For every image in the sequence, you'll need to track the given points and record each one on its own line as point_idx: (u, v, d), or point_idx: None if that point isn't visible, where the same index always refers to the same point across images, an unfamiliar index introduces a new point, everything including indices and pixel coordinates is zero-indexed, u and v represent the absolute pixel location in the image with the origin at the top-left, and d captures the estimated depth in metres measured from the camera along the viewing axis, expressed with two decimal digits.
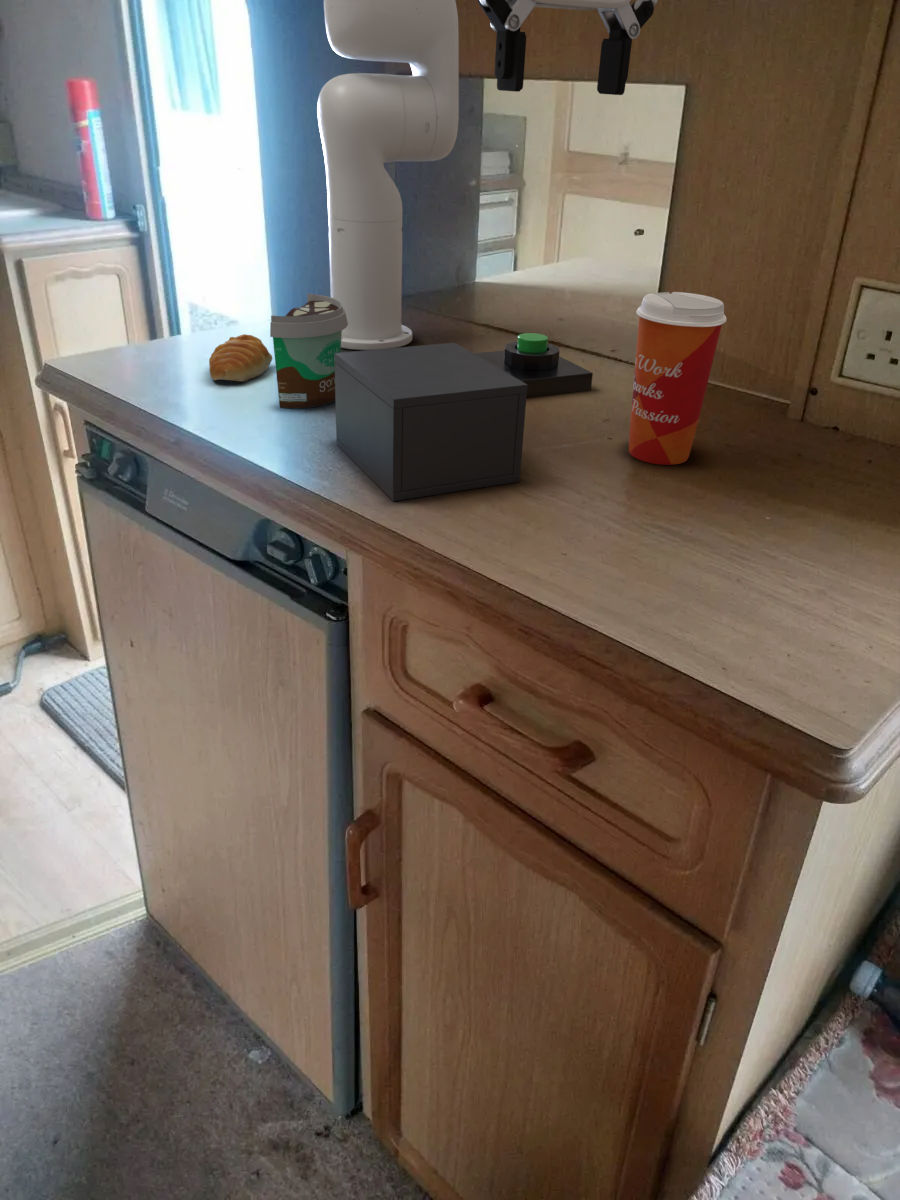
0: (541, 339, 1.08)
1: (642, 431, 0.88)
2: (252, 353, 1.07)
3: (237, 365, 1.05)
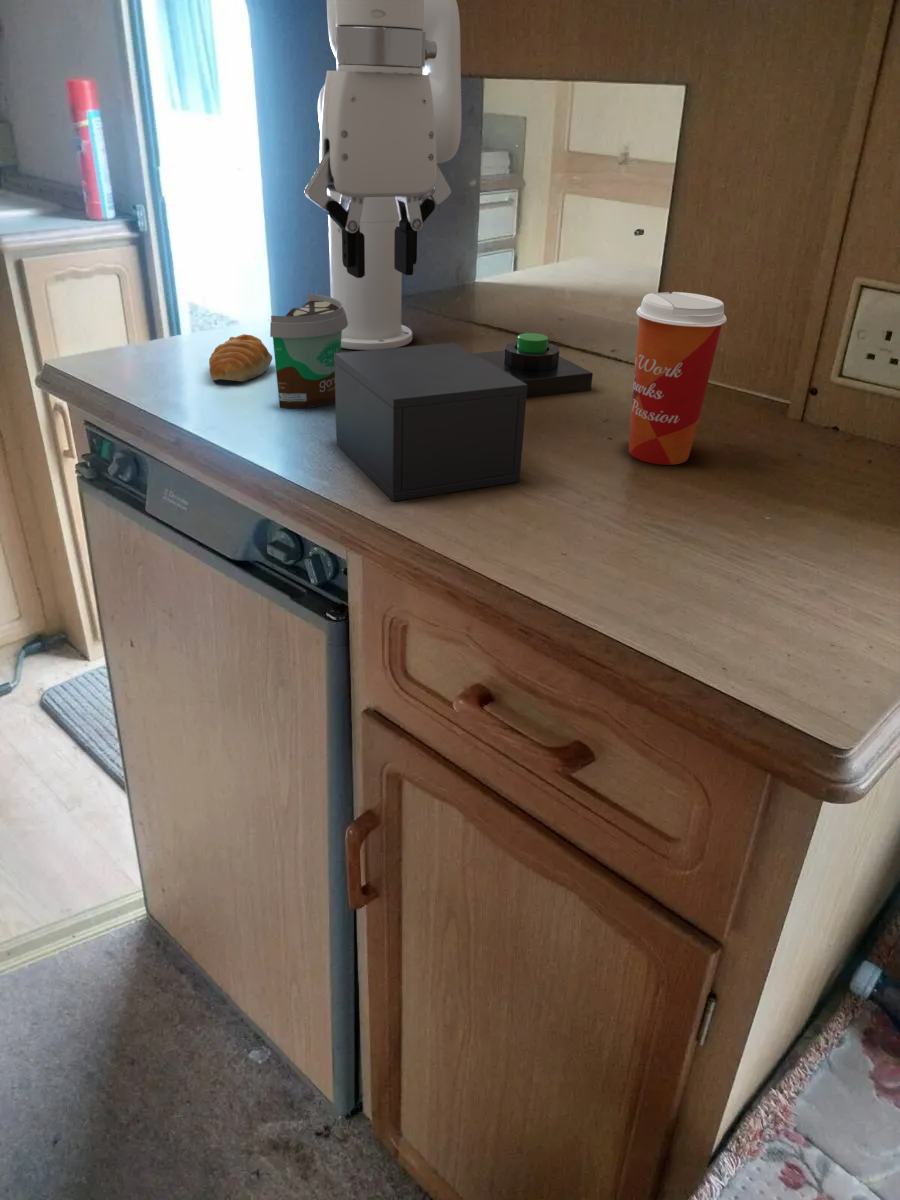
0: (541, 339, 1.08)
1: (642, 431, 0.88)
2: (252, 353, 1.07)
3: (237, 365, 1.05)
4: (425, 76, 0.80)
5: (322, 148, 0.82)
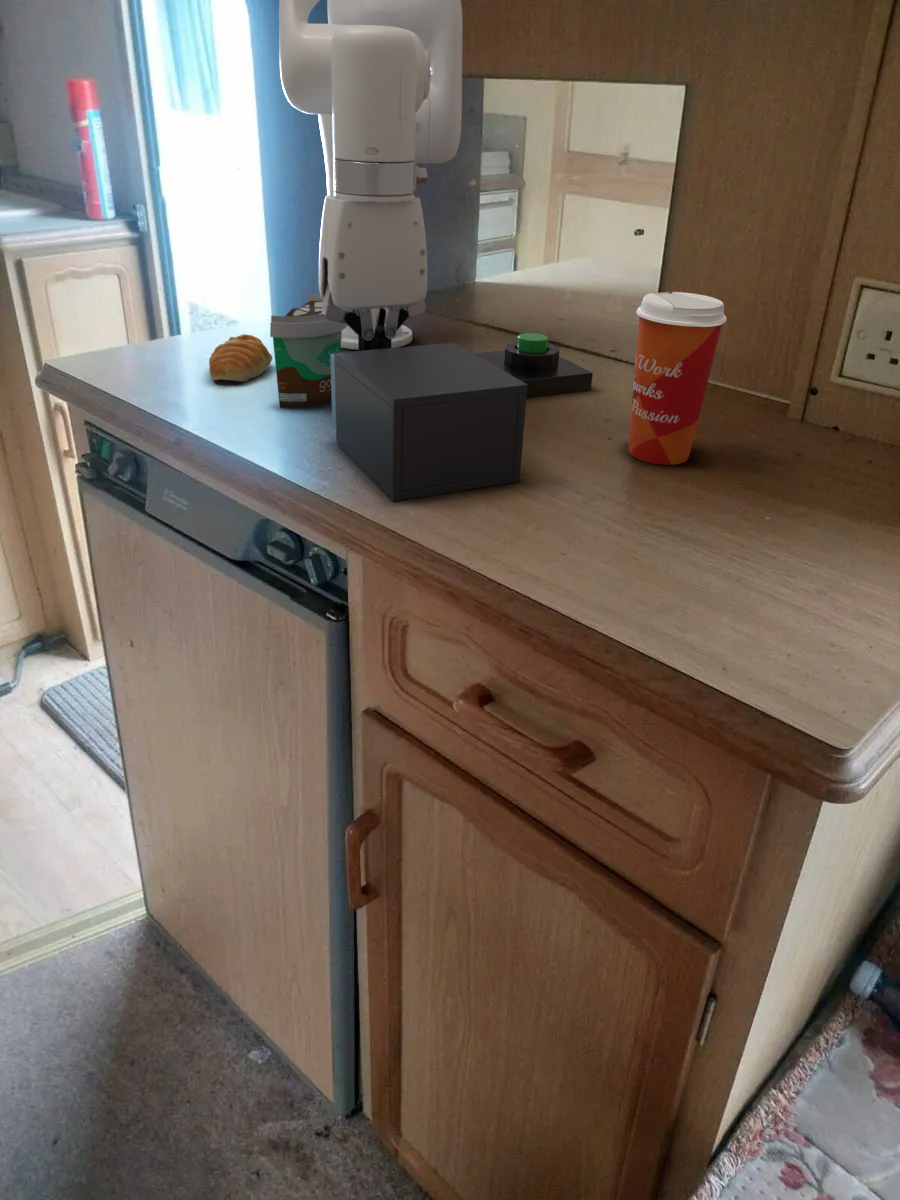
0: (541, 339, 1.08)
1: (642, 431, 0.88)
2: (252, 353, 1.07)
3: (237, 365, 1.05)
4: (416, 201, 0.86)
5: (321, 265, 0.88)
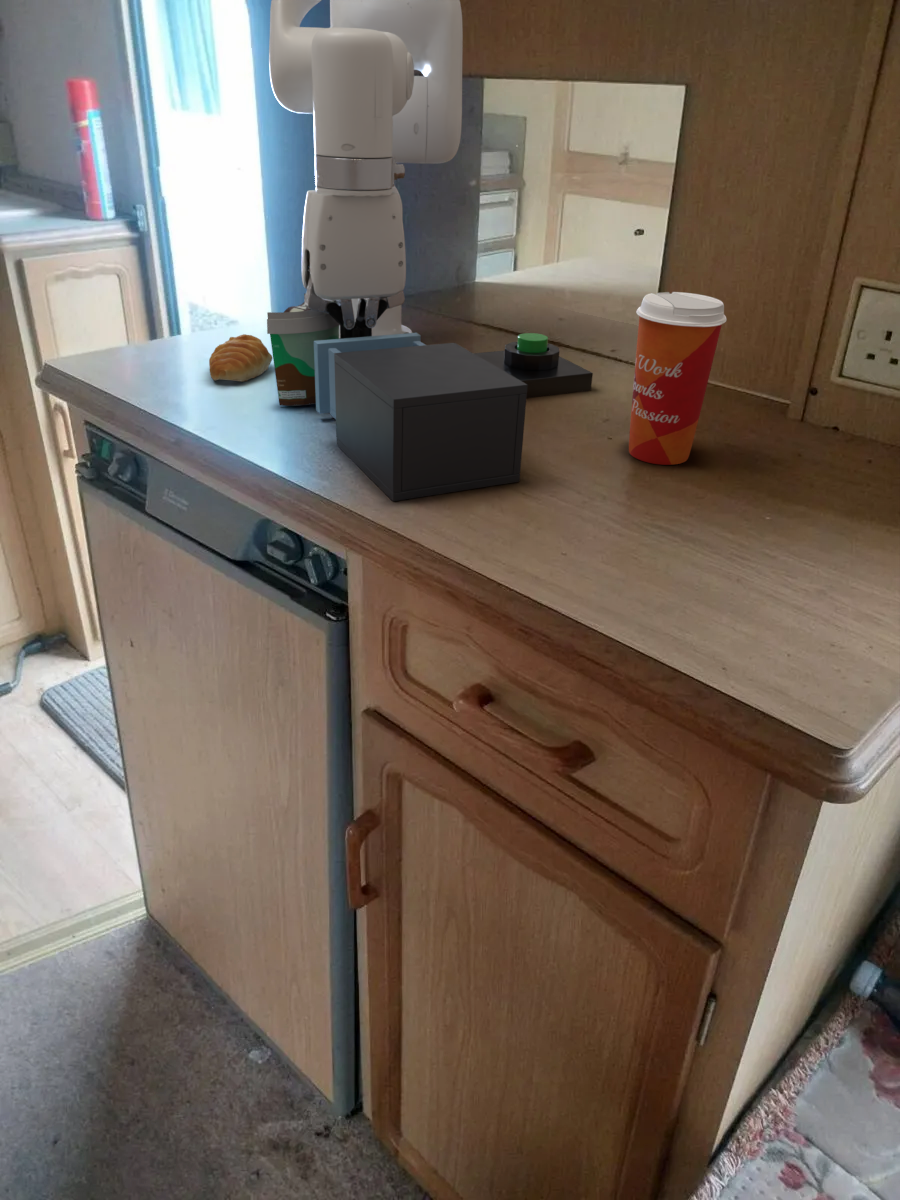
0: (541, 339, 1.08)
1: (642, 431, 0.88)
2: (252, 353, 1.07)
3: (237, 365, 1.05)
4: (394, 195, 0.90)
5: (303, 257, 0.92)
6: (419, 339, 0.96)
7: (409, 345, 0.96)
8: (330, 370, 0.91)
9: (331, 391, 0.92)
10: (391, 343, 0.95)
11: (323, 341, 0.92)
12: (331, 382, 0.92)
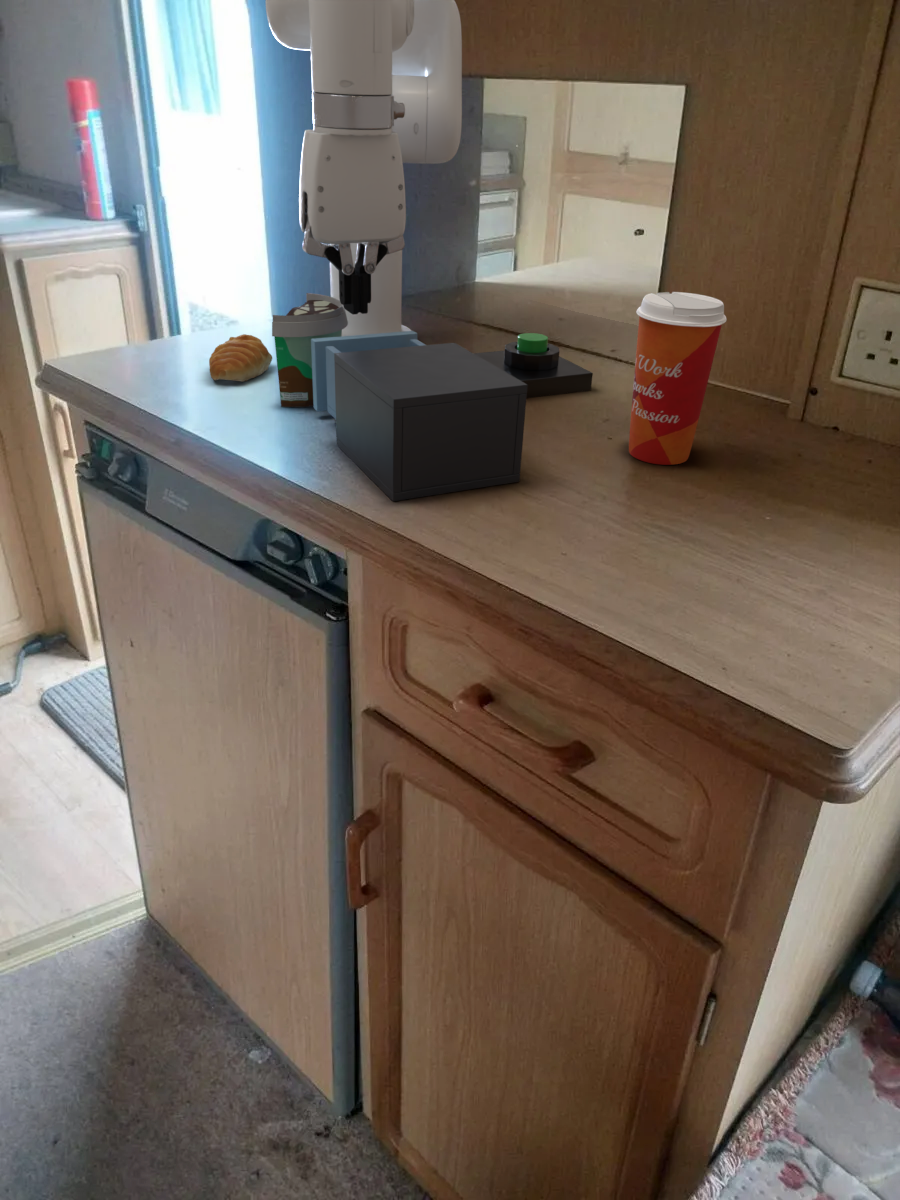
0: (541, 339, 1.08)
1: (642, 431, 0.88)
2: (252, 353, 1.07)
3: (237, 365, 1.05)
4: (394, 135, 0.88)
5: (301, 199, 0.90)
6: (416, 337, 0.97)
7: (406, 343, 0.97)
8: (328, 368, 0.92)
9: (328, 389, 0.93)
10: (388, 341, 0.96)
11: (320, 339, 0.93)
12: (329, 379, 0.92)
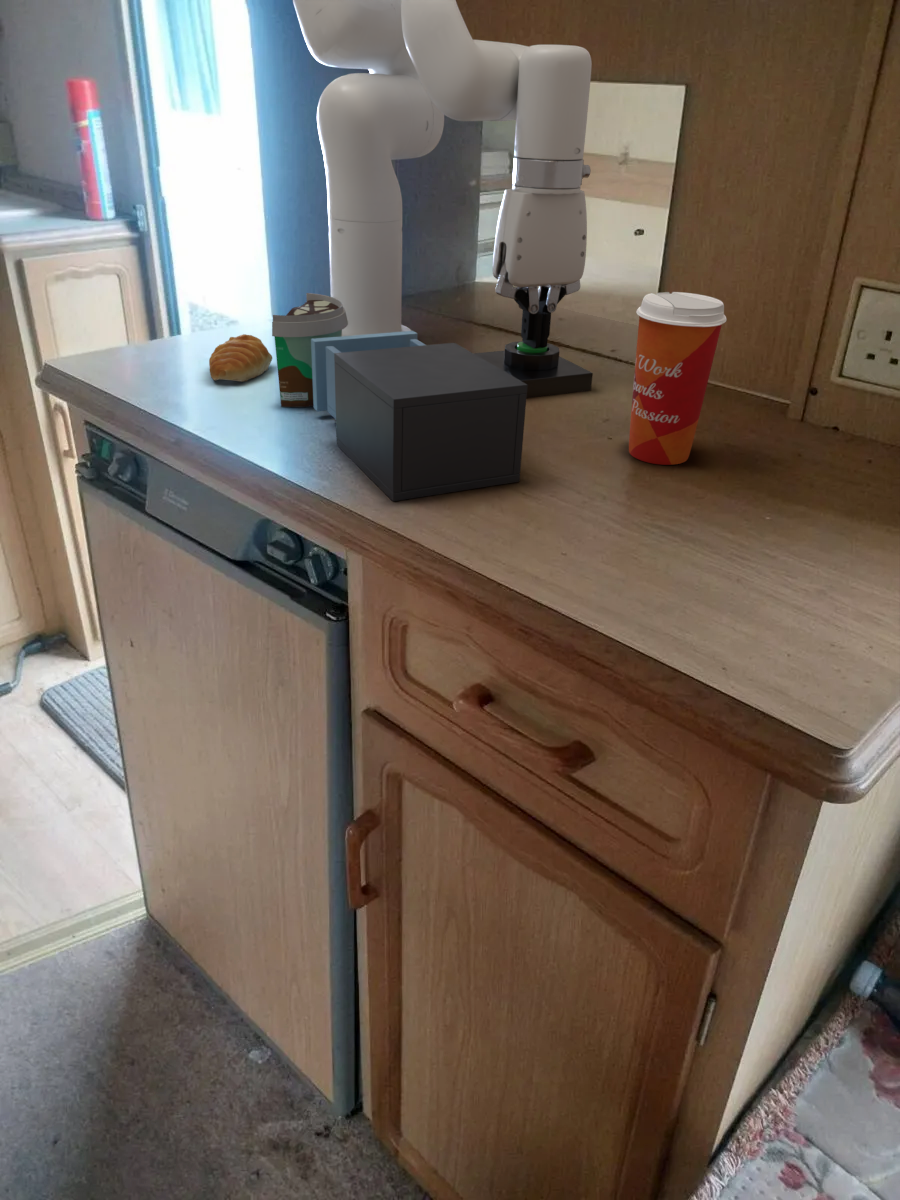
0: (540, 347, 1.08)
1: (642, 431, 0.88)
2: (252, 353, 1.07)
3: (237, 365, 1.05)
4: (582, 193, 1.00)
5: (497, 249, 1.02)
6: (416, 337, 0.97)
7: (406, 343, 0.97)
8: (328, 368, 0.92)
9: (328, 389, 0.93)
10: (388, 341, 0.96)
11: (320, 339, 0.93)
12: (329, 379, 0.92)
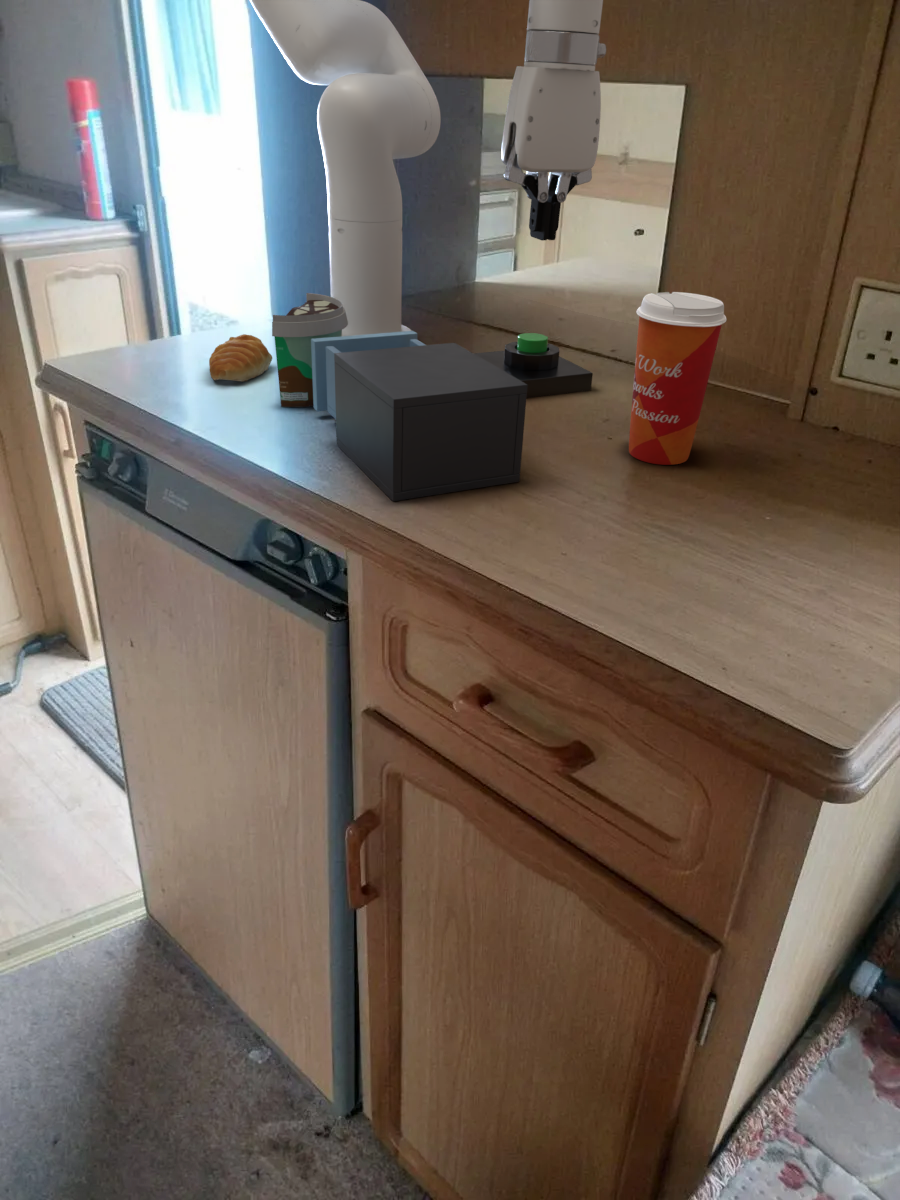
0: (541, 339, 1.08)
1: (642, 431, 0.88)
2: (252, 353, 1.07)
3: (237, 365, 1.05)
4: (597, 72, 0.96)
5: (507, 130, 0.99)
6: (416, 337, 0.97)
7: (406, 343, 0.97)
8: (328, 368, 0.92)
9: (328, 389, 0.93)
10: (388, 341, 0.96)
11: (320, 339, 0.93)
12: (329, 379, 0.92)
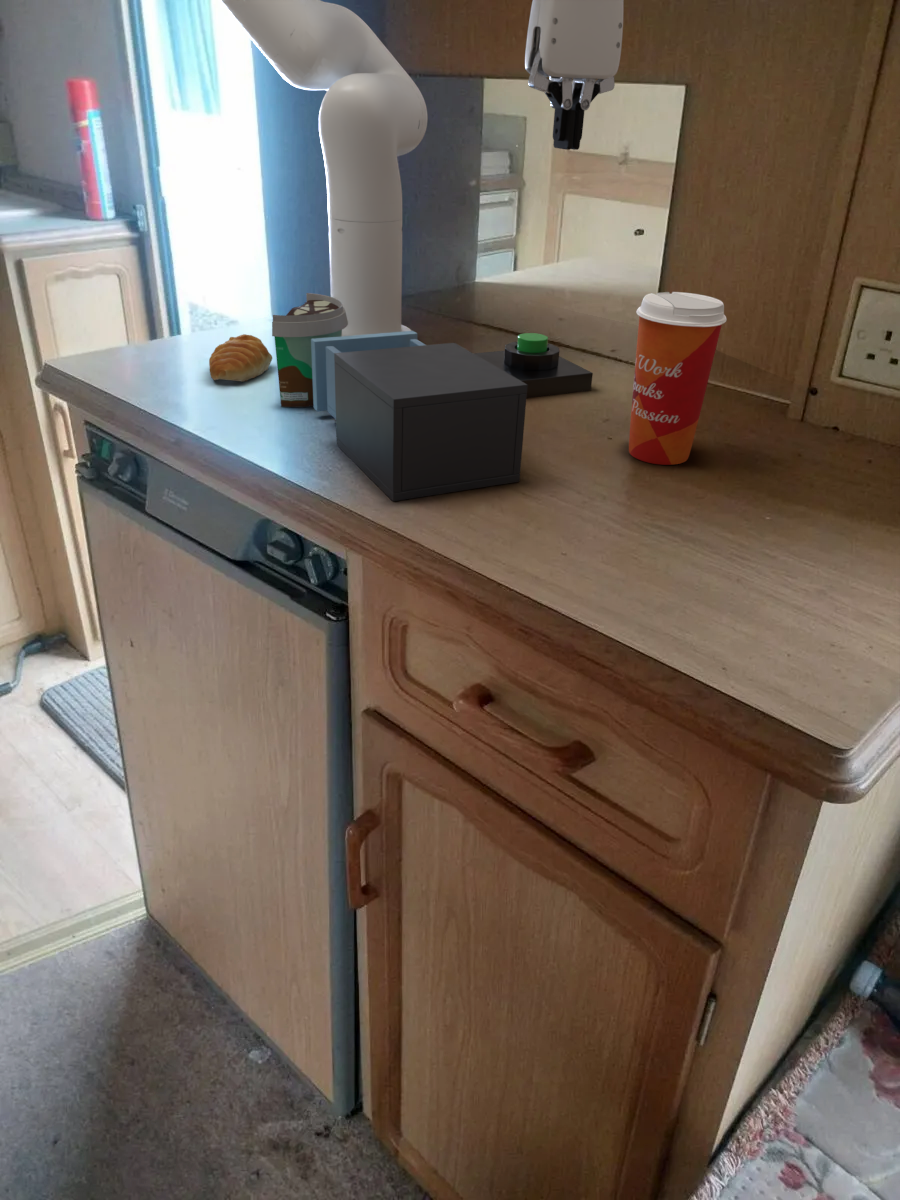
0: (541, 339, 1.08)
1: (642, 431, 0.88)
2: (252, 353, 1.07)
3: (237, 365, 1.05)
4: None
5: (531, 36, 0.99)
6: (416, 337, 0.97)
7: (406, 343, 0.97)
8: (328, 368, 0.92)
9: (328, 389, 0.93)
10: (388, 341, 0.96)
11: (320, 339, 0.93)
12: (329, 379, 0.92)
